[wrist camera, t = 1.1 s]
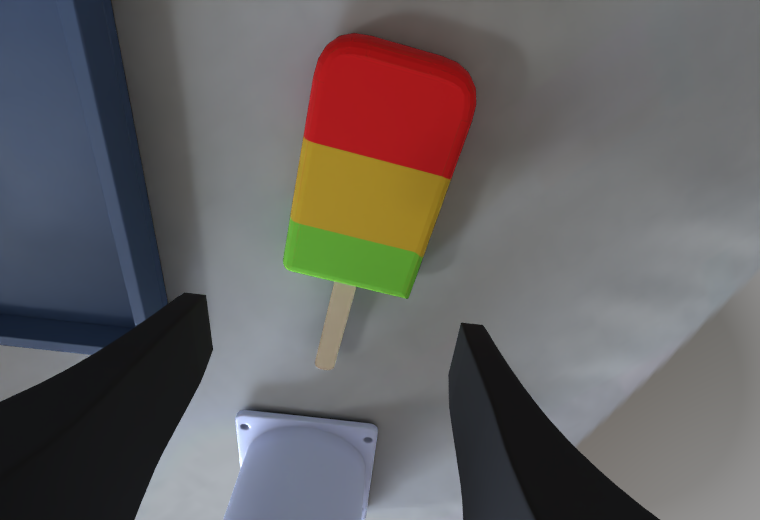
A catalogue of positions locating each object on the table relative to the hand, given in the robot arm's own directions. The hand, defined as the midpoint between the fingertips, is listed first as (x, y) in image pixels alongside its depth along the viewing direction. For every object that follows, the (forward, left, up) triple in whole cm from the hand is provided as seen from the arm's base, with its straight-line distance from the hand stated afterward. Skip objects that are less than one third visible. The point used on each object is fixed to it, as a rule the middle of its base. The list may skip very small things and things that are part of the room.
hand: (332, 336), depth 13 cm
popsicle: (-1, 0, -8) cm, 8 cm away
